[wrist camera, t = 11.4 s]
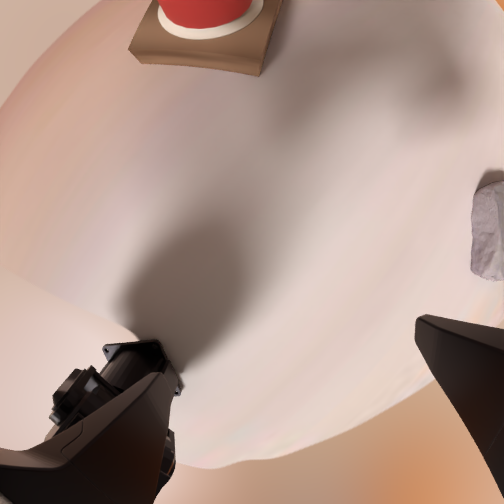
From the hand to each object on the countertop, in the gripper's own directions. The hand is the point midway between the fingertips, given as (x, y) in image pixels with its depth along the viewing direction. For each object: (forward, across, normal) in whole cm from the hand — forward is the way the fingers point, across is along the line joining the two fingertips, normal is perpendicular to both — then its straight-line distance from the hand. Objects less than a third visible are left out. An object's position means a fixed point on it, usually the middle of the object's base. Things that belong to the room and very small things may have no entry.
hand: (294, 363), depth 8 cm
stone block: (+14, -26, +2) cm, 30 cm away
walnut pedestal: (+13, 0, -21) cm, 25 cm away
